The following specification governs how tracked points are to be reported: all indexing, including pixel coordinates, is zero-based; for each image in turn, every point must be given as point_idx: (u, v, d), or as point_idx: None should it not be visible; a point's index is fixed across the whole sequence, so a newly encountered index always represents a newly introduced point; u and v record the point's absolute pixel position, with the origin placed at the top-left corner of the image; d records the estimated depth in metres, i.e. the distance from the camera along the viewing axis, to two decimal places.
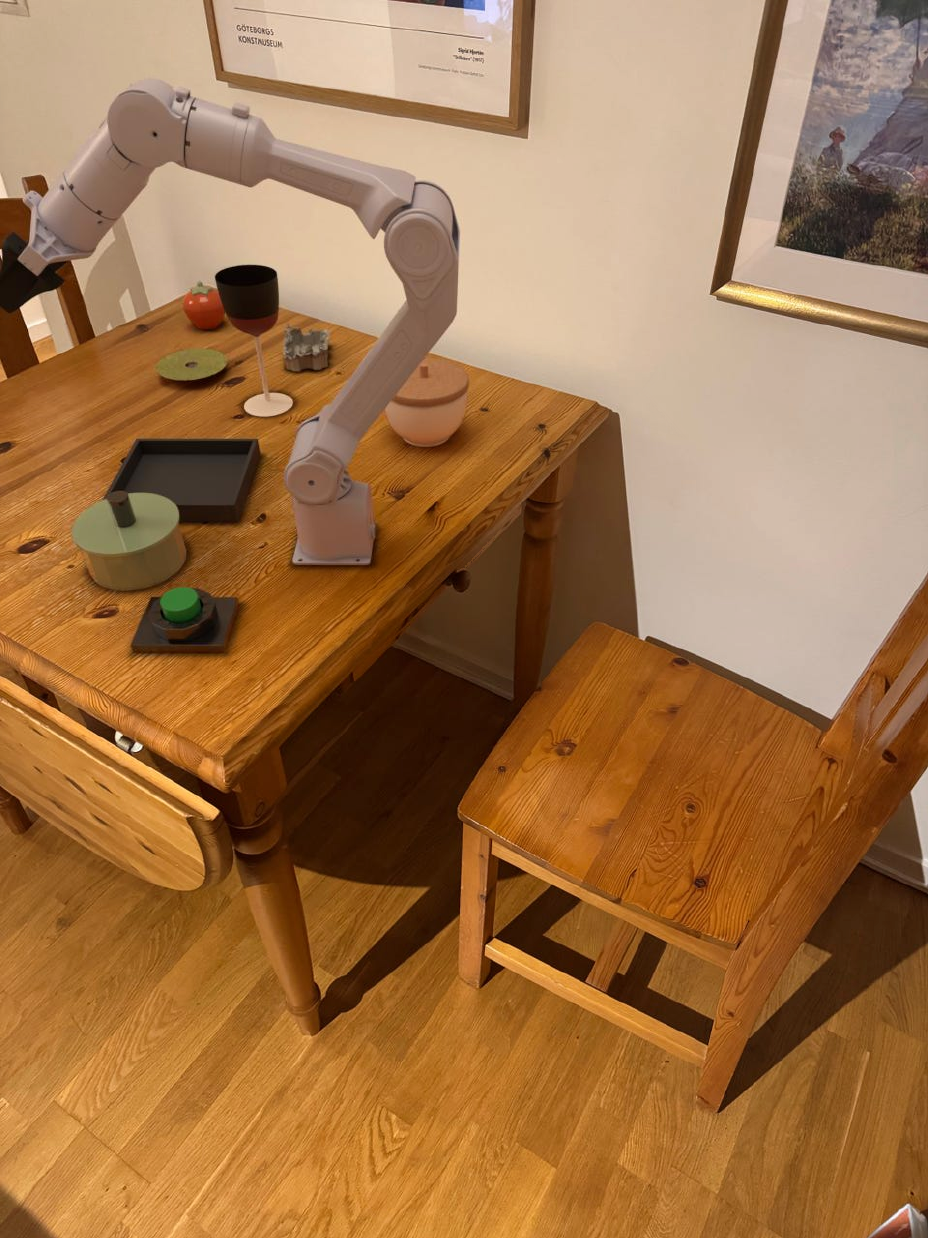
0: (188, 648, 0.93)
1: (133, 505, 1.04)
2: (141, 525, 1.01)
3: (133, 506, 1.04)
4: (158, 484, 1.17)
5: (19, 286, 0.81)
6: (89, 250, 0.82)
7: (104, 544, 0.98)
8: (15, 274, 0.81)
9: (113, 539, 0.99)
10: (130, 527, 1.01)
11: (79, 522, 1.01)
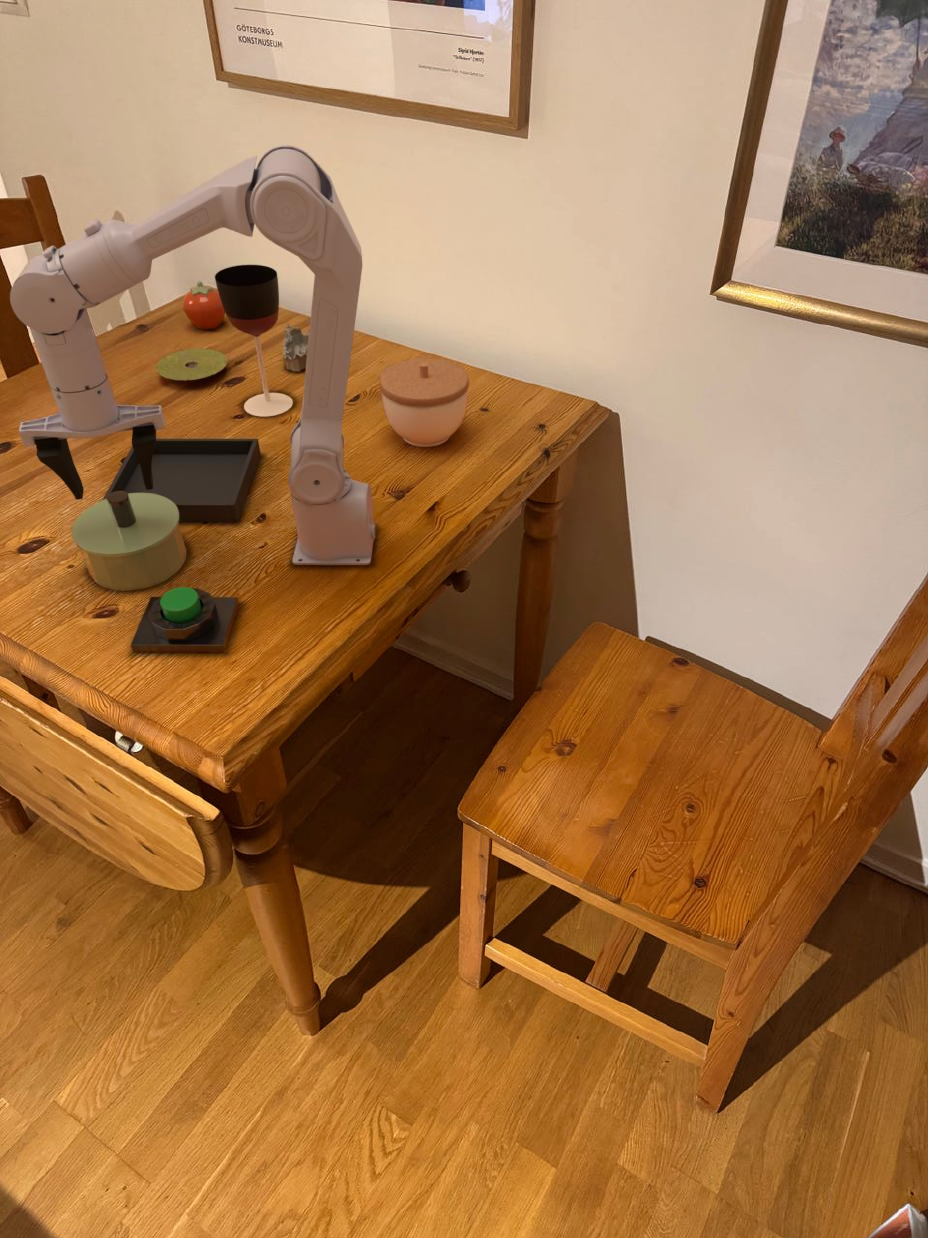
0: (188, 648, 0.93)
1: (133, 505, 1.04)
2: (141, 525, 1.01)
3: (133, 506, 1.04)
4: (158, 484, 1.17)
5: None
6: (80, 430, 0.90)
7: (104, 544, 0.98)
8: None
9: (113, 539, 0.99)
10: (130, 527, 1.01)
11: (79, 522, 1.01)
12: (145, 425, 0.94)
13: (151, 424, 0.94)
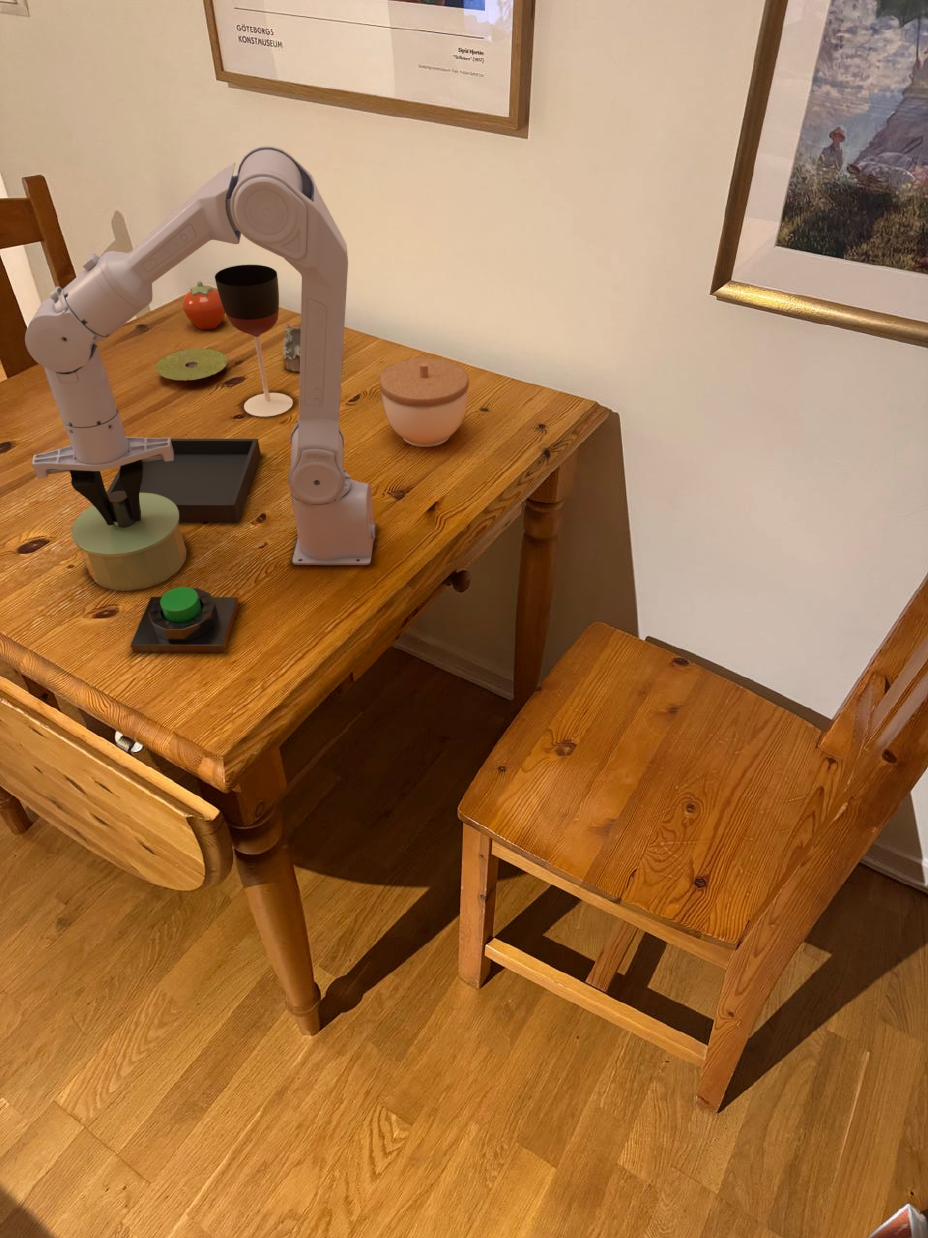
0: (188, 648, 0.93)
1: None
2: (141, 525, 1.01)
3: None
4: (158, 484, 1.17)
5: None
6: (91, 463, 0.93)
7: (104, 544, 0.98)
8: None
9: (113, 539, 0.99)
10: (130, 527, 1.01)
11: (79, 522, 1.01)
12: None
13: None
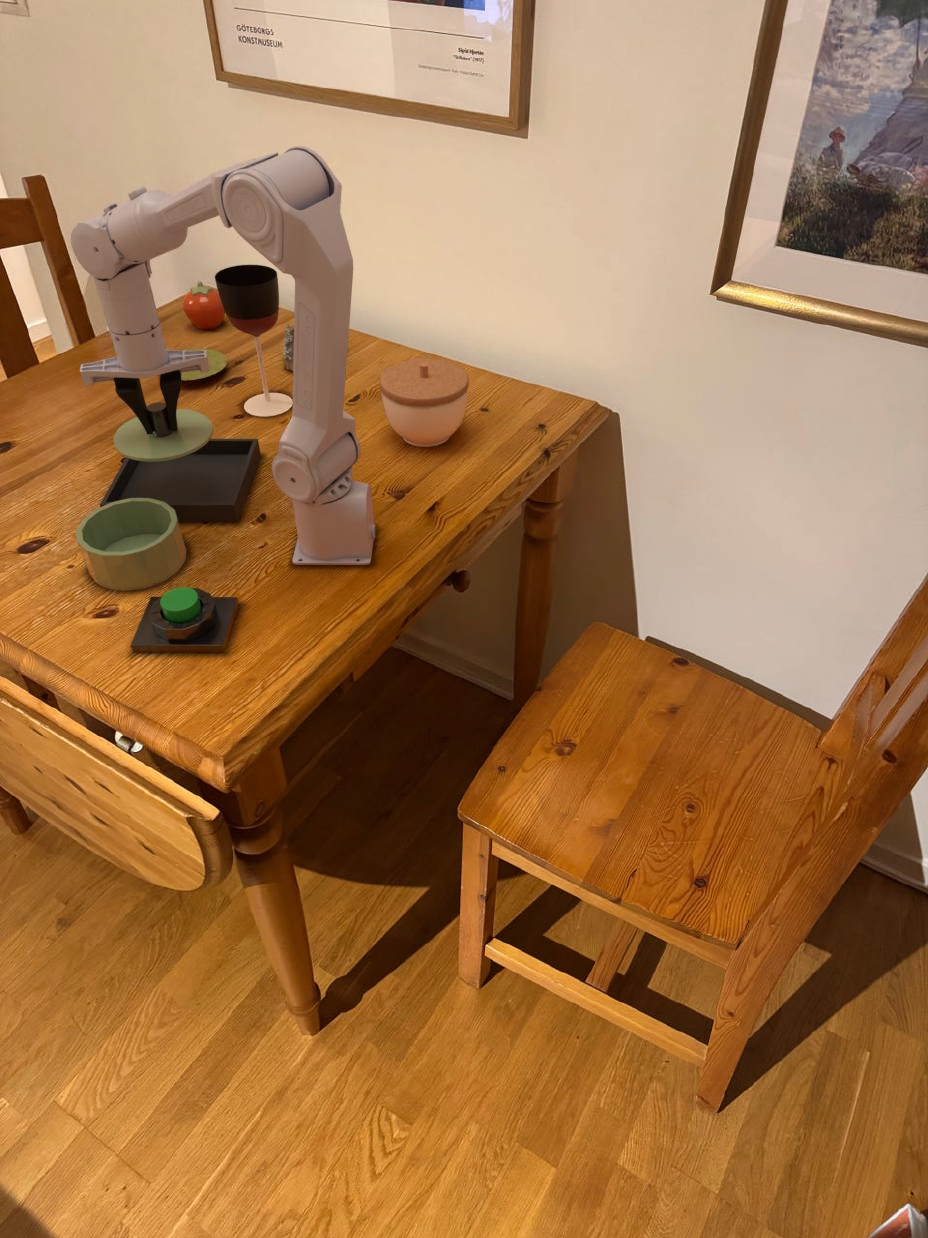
0: (188, 648, 0.93)
1: None
2: (178, 435, 1.08)
3: None
4: (158, 484, 1.17)
5: None
6: (135, 370, 1.00)
7: (144, 450, 1.06)
8: None
9: (153, 446, 1.06)
10: (167, 437, 1.08)
11: (120, 433, 1.09)
12: (171, 370, 1.04)
13: (177, 369, 1.04)
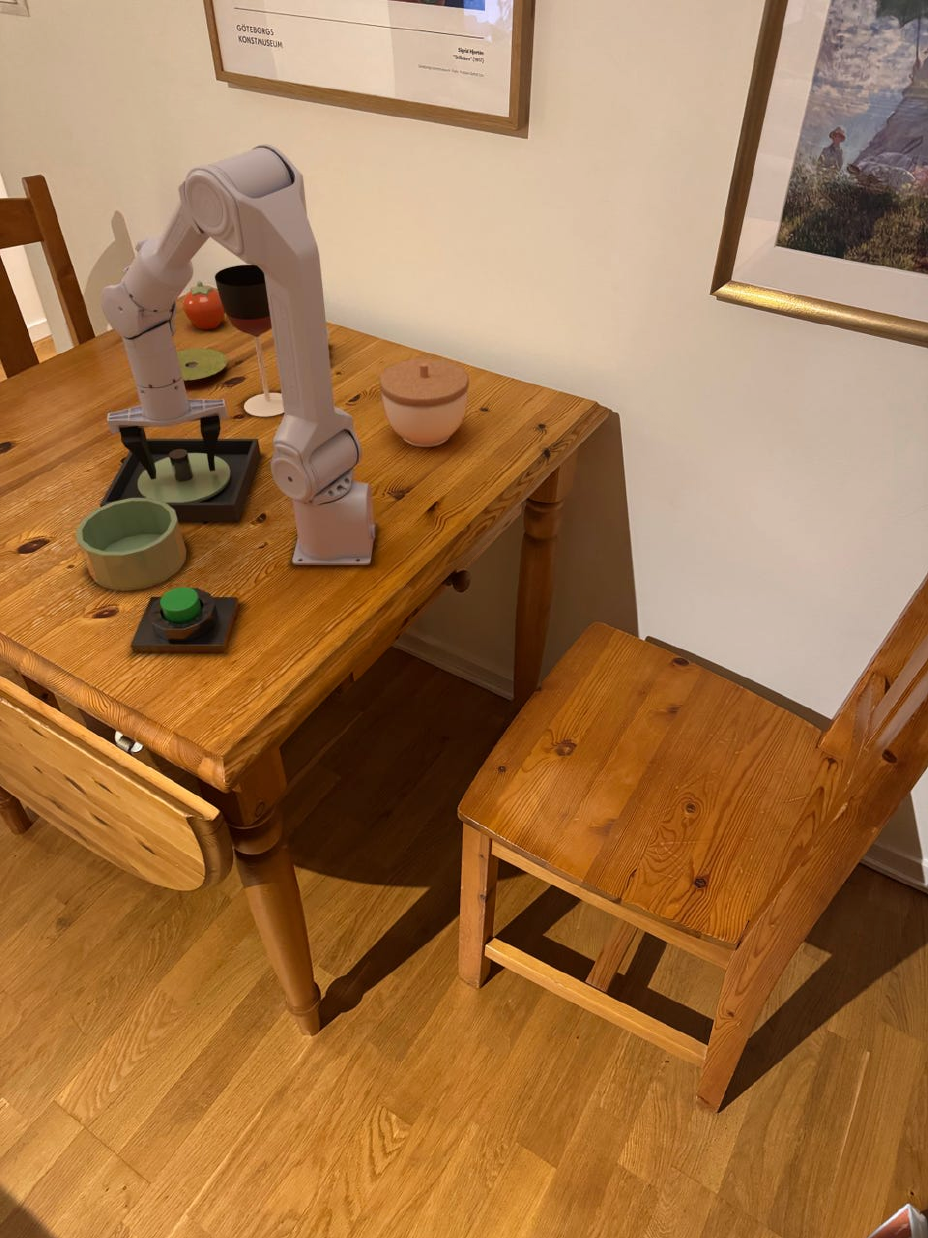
0: (188, 648, 0.93)
1: (189, 463, 1.19)
2: (198, 479, 1.16)
3: (189, 464, 1.18)
4: None
5: None
6: (158, 419, 1.07)
7: (167, 495, 1.13)
8: None
9: (175, 491, 1.14)
10: (188, 481, 1.15)
11: (143, 477, 1.16)
12: (211, 416, 1.11)
13: (216, 415, 1.11)
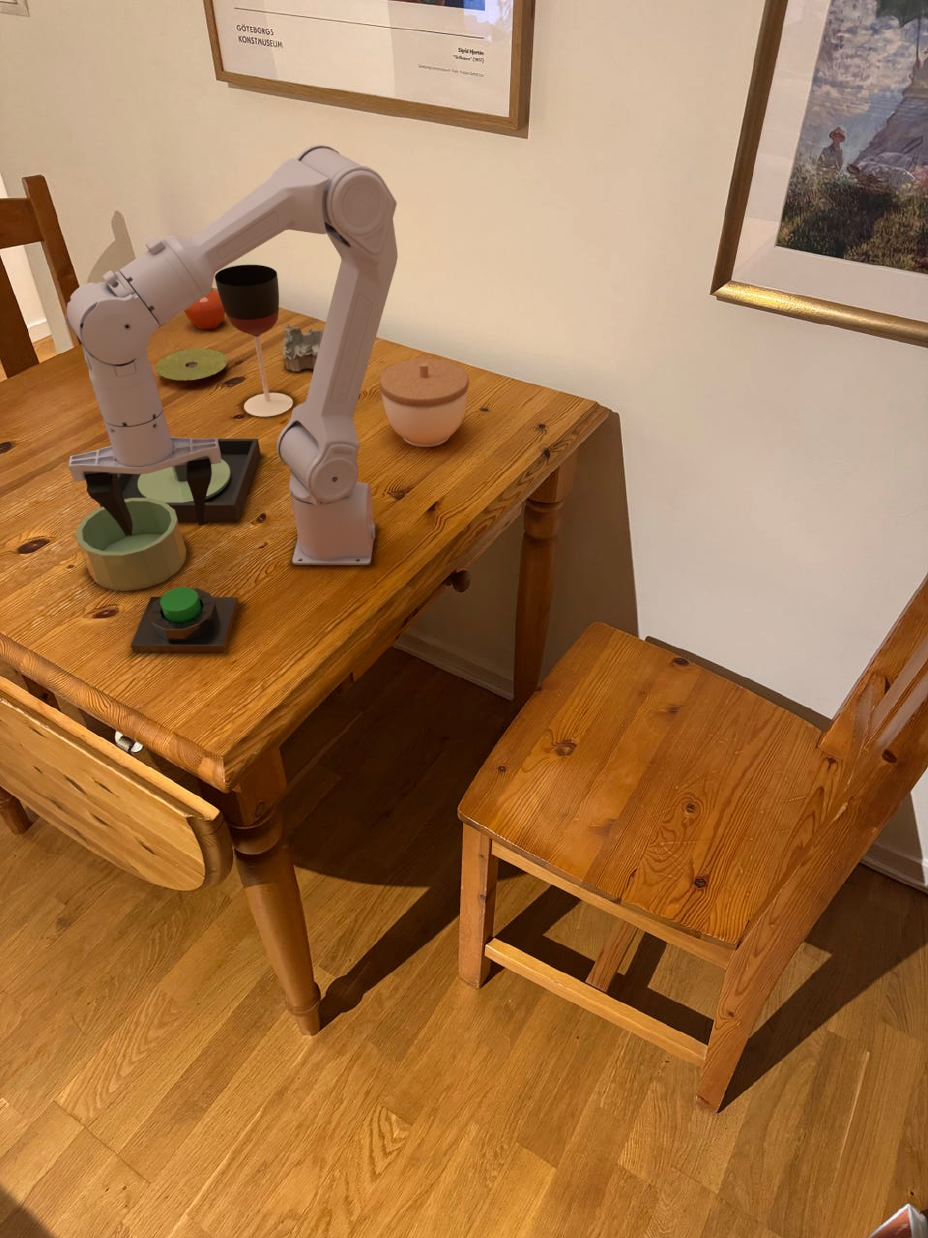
0: (188, 648, 0.93)
1: None
2: None
3: None
4: None
5: None
6: (133, 465, 0.85)
7: (167, 495, 1.13)
8: None
9: (175, 491, 1.14)
10: None
11: (143, 477, 1.16)
12: (200, 459, 0.89)
13: (206, 458, 0.89)
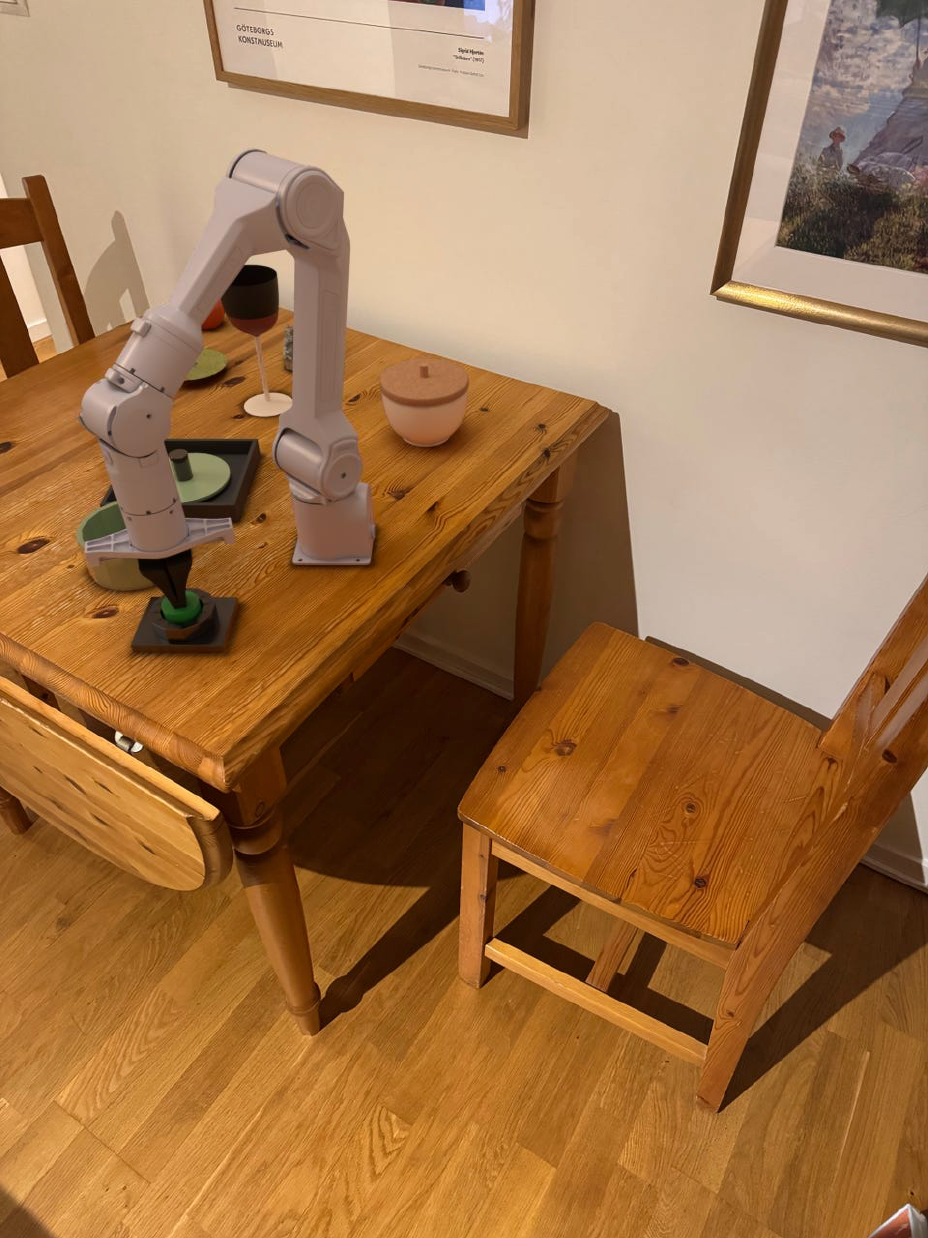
0: (188, 648, 0.93)
1: (189, 463, 1.19)
2: (198, 479, 1.16)
3: (189, 464, 1.18)
4: None
5: None
6: (150, 550, 0.85)
7: None
8: None
9: None
10: (188, 481, 1.15)
11: None
12: None
13: None
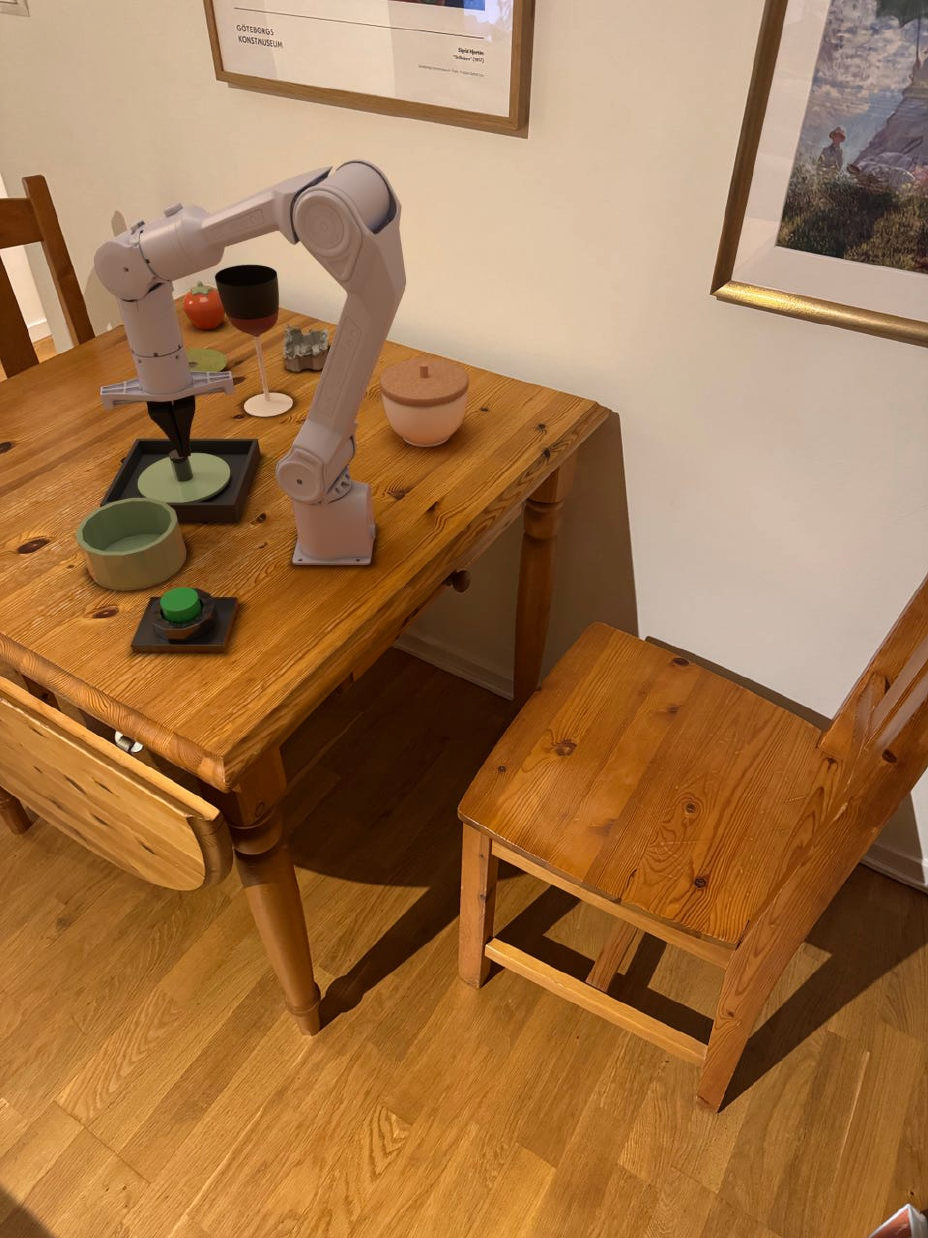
0: (188, 648, 0.93)
1: (189, 463, 1.19)
2: (198, 479, 1.16)
3: (189, 464, 1.18)
4: None
5: None
6: (157, 393, 0.96)
7: (167, 495, 1.13)
8: None
9: (175, 491, 1.14)
10: (188, 481, 1.15)
11: (143, 477, 1.16)
12: None
13: None
